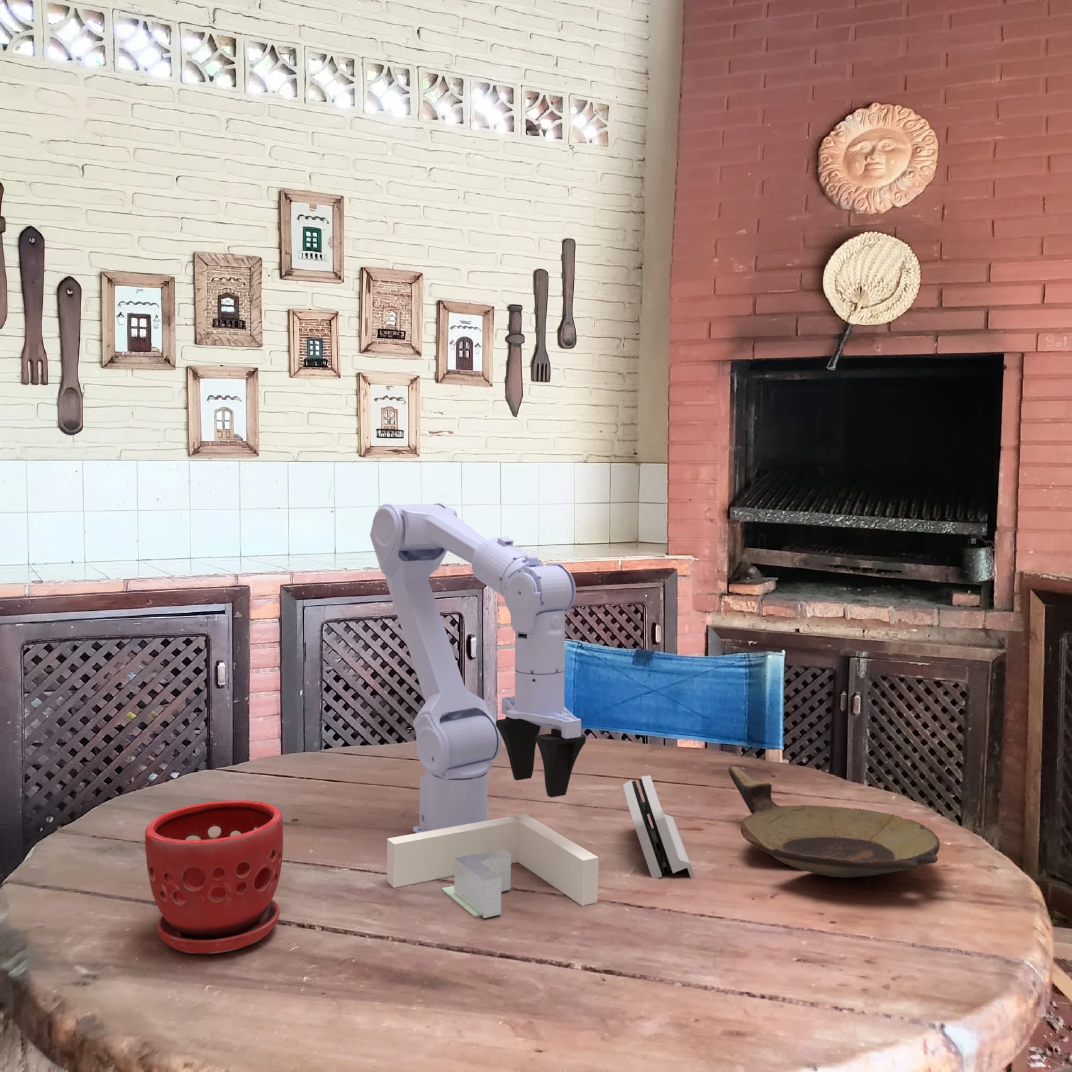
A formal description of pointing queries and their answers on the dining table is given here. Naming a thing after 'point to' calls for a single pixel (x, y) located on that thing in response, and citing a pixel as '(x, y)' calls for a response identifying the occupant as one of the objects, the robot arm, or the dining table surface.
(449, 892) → the mat
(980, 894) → the dining table surface
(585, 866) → the corner wall
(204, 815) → the plant pot
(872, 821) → the brown frying pan
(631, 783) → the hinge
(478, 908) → the bracket
